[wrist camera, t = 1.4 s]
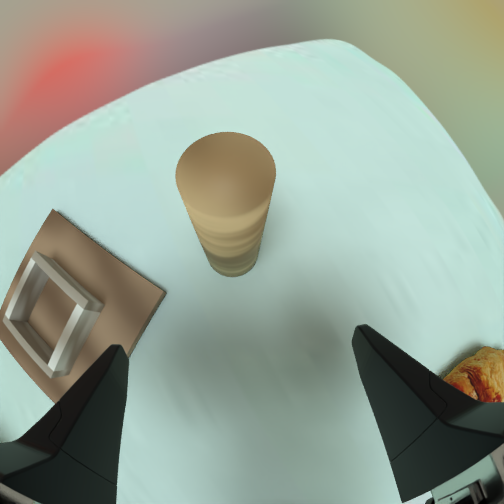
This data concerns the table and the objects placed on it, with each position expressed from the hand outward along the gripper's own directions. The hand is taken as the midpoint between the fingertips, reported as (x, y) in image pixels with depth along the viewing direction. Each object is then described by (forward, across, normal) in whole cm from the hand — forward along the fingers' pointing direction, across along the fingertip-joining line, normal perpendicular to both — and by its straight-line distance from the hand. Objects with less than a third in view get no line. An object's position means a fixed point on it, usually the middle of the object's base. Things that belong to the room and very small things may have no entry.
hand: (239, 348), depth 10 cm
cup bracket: (+11, +17, +8) cm, 22 cm away
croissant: (+2, -25, +17) cm, 30 cm away
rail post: (+14, 0, +4) cm, 15 cm away
